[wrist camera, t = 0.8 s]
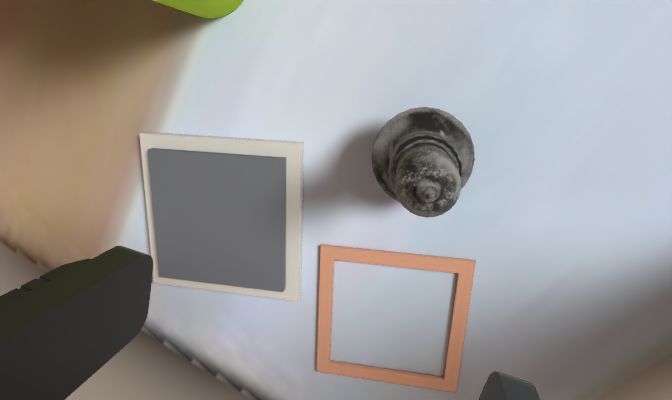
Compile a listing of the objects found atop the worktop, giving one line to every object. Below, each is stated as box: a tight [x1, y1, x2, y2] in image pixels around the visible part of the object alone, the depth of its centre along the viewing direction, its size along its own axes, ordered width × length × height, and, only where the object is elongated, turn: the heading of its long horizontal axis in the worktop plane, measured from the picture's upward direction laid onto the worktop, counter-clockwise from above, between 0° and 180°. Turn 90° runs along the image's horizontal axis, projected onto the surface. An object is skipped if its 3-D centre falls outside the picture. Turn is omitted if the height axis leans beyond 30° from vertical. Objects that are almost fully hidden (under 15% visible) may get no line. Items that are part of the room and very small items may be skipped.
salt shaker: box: [372, 107, 474, 217], centre depth 21 cm, size 6×6×12 cm
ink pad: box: [139, 132, 304, 301], centre depth 30 cm, size 12×12×2 cm
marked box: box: [317, 244, 476, 393], centre depth 31 cm, size 11×11×1 cm
